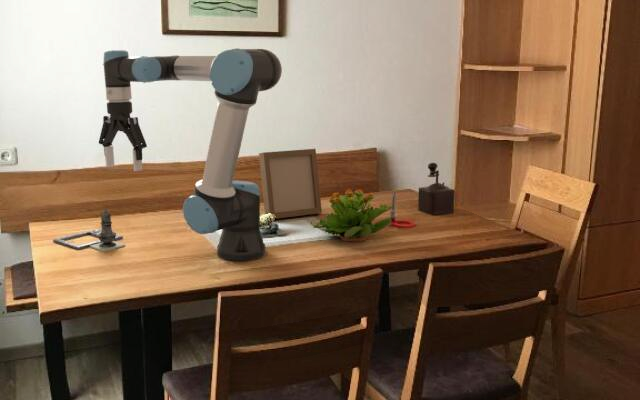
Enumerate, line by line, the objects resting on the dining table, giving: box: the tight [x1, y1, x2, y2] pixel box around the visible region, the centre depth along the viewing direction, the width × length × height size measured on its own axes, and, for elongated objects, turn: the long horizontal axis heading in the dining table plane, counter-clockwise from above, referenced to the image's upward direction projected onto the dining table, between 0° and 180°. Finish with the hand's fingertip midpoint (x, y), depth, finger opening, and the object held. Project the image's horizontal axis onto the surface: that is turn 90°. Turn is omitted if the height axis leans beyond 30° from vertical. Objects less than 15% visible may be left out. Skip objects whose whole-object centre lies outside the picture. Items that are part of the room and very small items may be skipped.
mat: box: [89, 240, 126, 253], centre depth 225 cm, size 8×8×1 cm
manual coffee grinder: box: [417, 162, 456, 216], centre depth 276 cm, size 16×11×18 cm
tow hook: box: [387, 189, 416, 229], centre depth 254 cm, size 8×13×9 cm
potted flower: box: [309, 188, 393, 243], centre depth 236 cm, size 25×24×18 cm
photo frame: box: [258, 148, 323, 220], centre depth 266 cm, size 15×22×25 cm
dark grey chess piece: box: [97, 208, 117, 248], centre depth 224 cm, size 6×6×12 cm
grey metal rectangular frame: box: [52, 228, 124, 251], centre depth 232 cm, size 14×17×1 cm
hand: (124, 168), depth 222 cm, fingers open, 13 cm apart
